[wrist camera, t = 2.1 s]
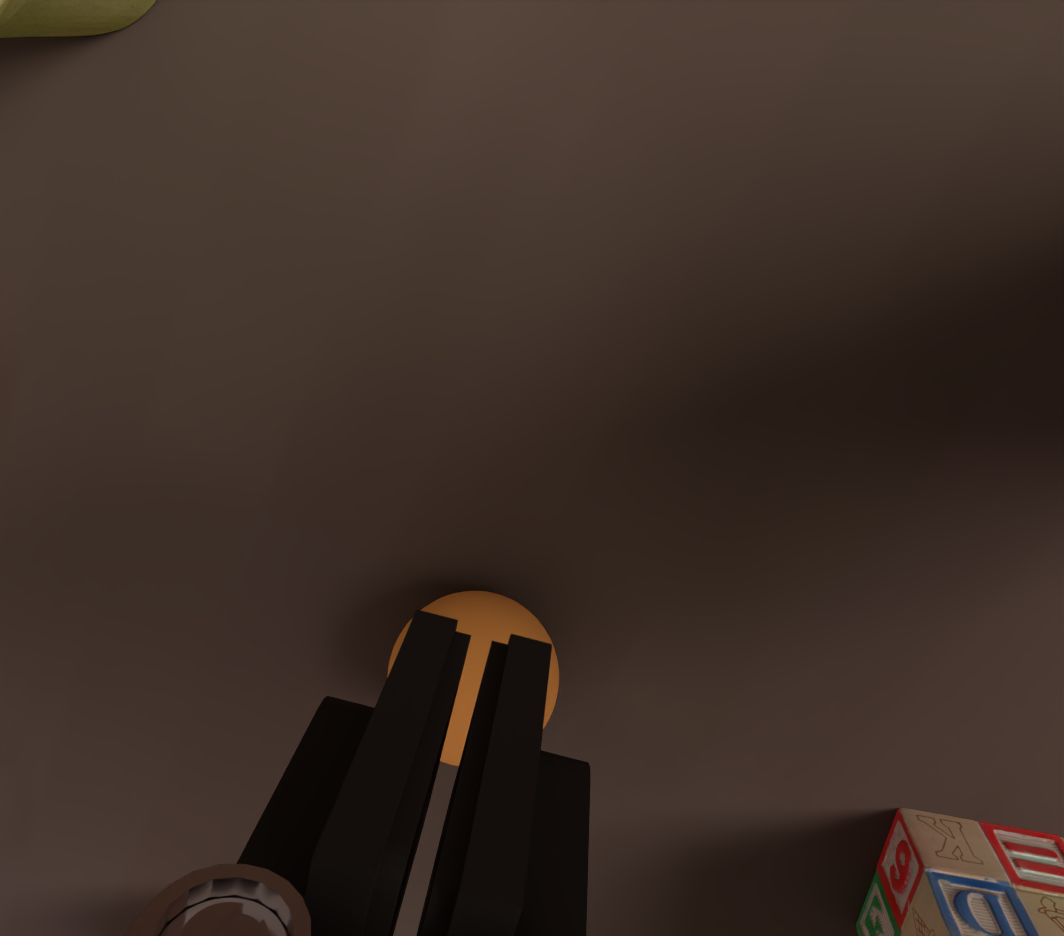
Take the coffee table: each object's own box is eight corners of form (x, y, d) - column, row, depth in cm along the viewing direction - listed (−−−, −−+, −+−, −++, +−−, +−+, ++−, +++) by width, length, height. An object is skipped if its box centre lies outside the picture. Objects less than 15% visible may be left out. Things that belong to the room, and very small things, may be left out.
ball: (580, 584, 29) (574, 678, 24) (542, 712, 31) (528, 825, 26) (424, 544, 29) (384, 629, 24) (396, 675, 31) (353, 781, 26)
